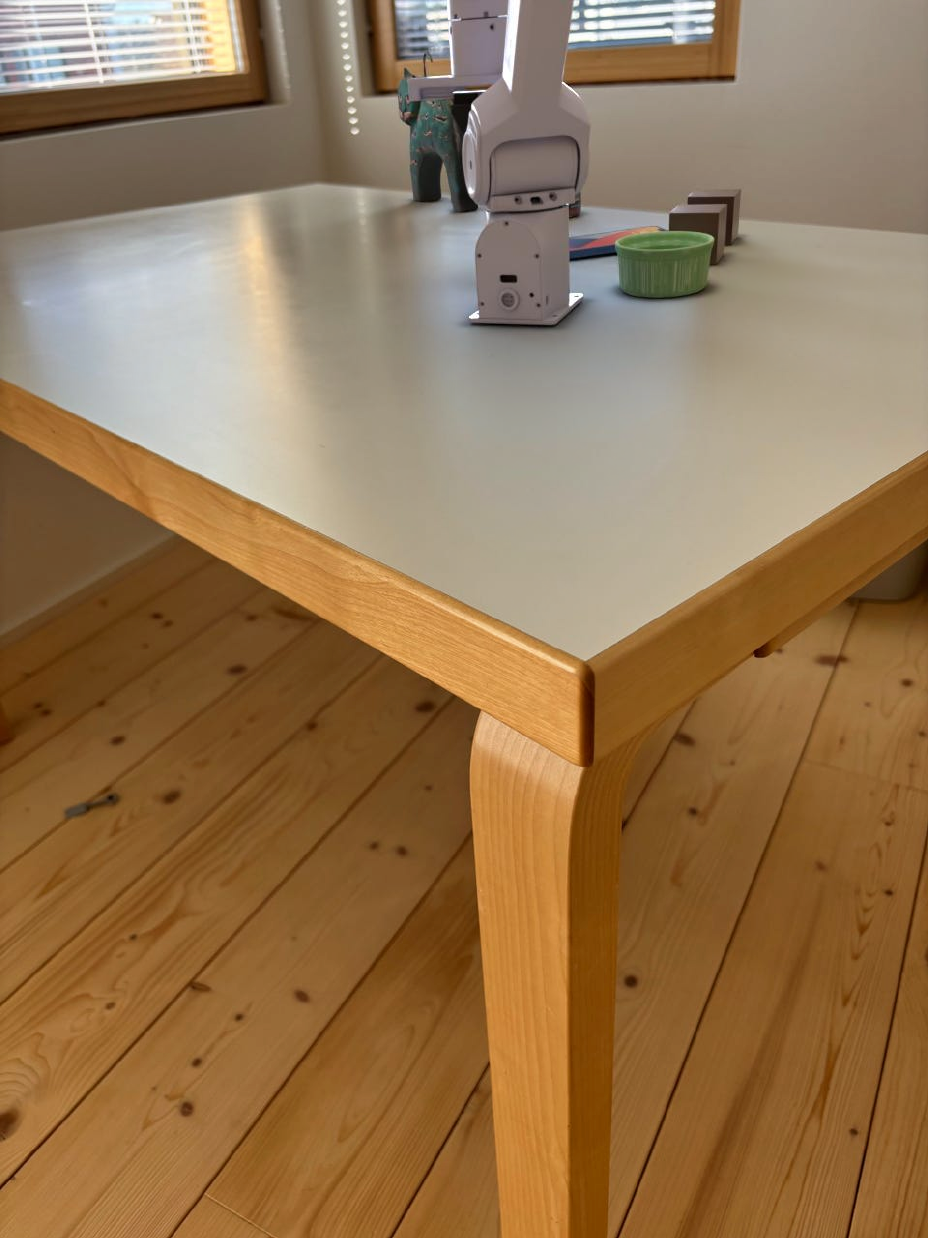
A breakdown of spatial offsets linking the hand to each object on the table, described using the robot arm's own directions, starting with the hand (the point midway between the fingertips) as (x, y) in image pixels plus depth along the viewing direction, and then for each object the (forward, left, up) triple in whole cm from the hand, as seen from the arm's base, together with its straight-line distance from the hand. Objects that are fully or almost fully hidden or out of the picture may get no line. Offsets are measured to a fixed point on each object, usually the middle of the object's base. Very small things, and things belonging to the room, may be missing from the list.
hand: (487, 180), depth 98 cm
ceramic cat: (+48, +25, -10) cm, 55 cm away
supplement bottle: (+37, +4, -10) cm, 38 cm away
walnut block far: (+20, -19, -9) cm, 29 cm away
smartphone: (+15, -8, -9) cm, 19 cm away
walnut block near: (+10, -19, -9) cm, 23 cm away
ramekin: (-3, -18, -10) cm, 21 cm away
